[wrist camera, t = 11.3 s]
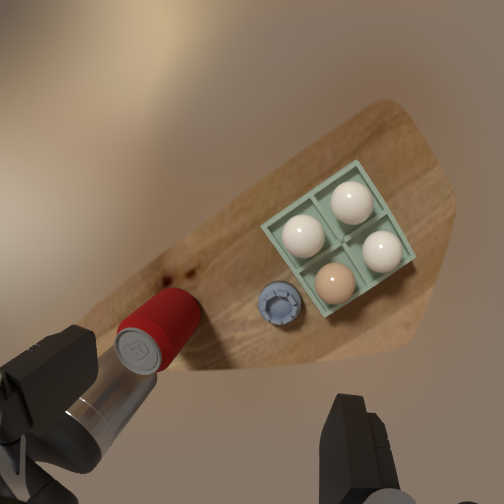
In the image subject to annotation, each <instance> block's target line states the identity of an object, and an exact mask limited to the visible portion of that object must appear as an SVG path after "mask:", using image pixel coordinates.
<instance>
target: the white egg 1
mask: <svg viewBox="0 0 504 504" xmlns="http://www.w3.org/2000/svg"><path fill="white" fill-rule="evenodd" d="M324 241H325V232H324V228H323V226H322V224H321V223H320V222H319V221H318V220H317V219H316V218H314V217H312V216H310V215H305V214H301V215H296V216H294V217H292V218H291V219H289V220H288V221H287V222H286V224H285V225H284V227H283V230H282V242H283V245H284V247H285V249H286V250H287V251H288V252H289V253H290V254H292V255H293V256H295V257H299V258H308V257H311V256H313V255H315V254H317V253H318V252H319V251H320V250H321V248H322V246H323V244H324Z"/></svg>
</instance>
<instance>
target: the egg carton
mask: <svg viewBox="0 0 504 504" xmlns="http://www.w3.org/2000/svg"><path fill="white" fill-rule="evenodd" d="M347 181H356V182H359V183H361V184H363V185H364V186H366V187H367V188H368V189H369V191H370V193H371V195H372V197H373V210H372V213H371V214H370V216H369V217H368V218H367V219H366V220H365V221H364V222H362V223H360V224H357V225H348V224H345V223H343V222H341V221H339V220H338V219H337V218H336V217H335V215H334V214H333V212H332V209H331V205H330V200H331V195H332V193H333V191H334V190H335V188H336V187H337V186H339V185H340V184H342V183H344V182H347ZM301 214H305V215H310V216H312V217H314V218H316V219H317V220H318V221H319V222H320V223H321V224H322V226H323V228H324V232H325V241H324V244H323V246H322V248H321V250H320V251H319V252H318V253H317V254H315V255H313V256H311V257H308V258H299V257H295V256H293V255H292V254H290V253H289V252H288V251H287V250H286V249H285V247H284V245H283V242H282V230H283V227H284V225H285V224H286V222H287V221H288V220H289V219H291V218H292V217H294V216H296V215H301ZM260 227H261V228H262V229H263V231H264V232H265V234H266V235H267V236H268V238H269V239H270V241H271V242H272V244H273V245H274V246H275V248H276V249H277V251H278V252H279V253H280V255H281V256H282V258H283V259H284V261H285V262H286V263H287V265H288V266H289V268H290V269H291V270H292V272H293V273H294V275H295V276H296V278H297V279H298V280H299V282H300V283H301V285H302V286H303V288H304V289H305V291H306V292H307V293H308V295H309V296H310V298H311V299H312V301H313V302H314V304H315V305H316V306H317V308H318V309H319V311H320V312H321V314H322V315H323V317H324V318H325V317H327V316H328V315H330V314H332V313H333V312H335V311H336V310H338V309H340V308H341V307H343V306H344V305H346V304H348V303H349V302H351V301H352V300H354V299H355V298H357V297H359V296H360V295H362V294H363V293H365V292H366V291H368V290H369V289H371V288H372V287H374V286H375V285H377V284H378V283H380V282H381V281H383V280H384V279H386V278H387V277H389V276H390V275H392V274H393V273H394V272H396V271H397V270H399V269H400V268H402V267H403V266H404V265H406V264H407V263H409V262H410V261H411V260H413V259H414V258H416V255H415V253H414V252H413V250H412V248H411V246H410V244H409V242H408V241H407V239H406V237H405V235H404V233H403V232H402V230H401V228H400V226H399V225H398V223H397V221H396V220H395V218H394V216H393V214H392V213H391V211H390V209H389V208H388V206H387V205H386V203H385V201H384V200H383V198H382V196H381V195H380V193H379V192H378V190H377V189H376V187H375V185H374V184H373V182H372V181H371V179H370V178H369V176H368V175H367V173H366V172H365V170H364V169H363V167H362V166H361V164H360V163H359V161H358V160H355V161H353V162H351V163H350V164H348V165H347V166H345V167H344V168H342V169H341V170H339V171H338V172H337V173H335V174H334V175H332V176H331V177H329V178H328V179H326V180H325V181H323V182H322V183H321V184H319V185H318V186H316V187H315V188H313V189H312V190H310V191H309V192H308V193H306V194H305V195H303V196H302V197H300V198H299V199H297V200H296V201H295V202H293V203H292V204H290V205H289V206H287V207H286V208H285V209H283V210H282V211H280V212H279V213H277V214H276V215H275V216H273V217H272V218H270V219H269V220H267V221H266V222H265V223H263V224H262V225H261V226H260ZM381 230H384V231H389V232H391V233H393V234H394V235H395V236H397V238H398V239H399V240H400V242H401V245H402V249H403V255H402V259H401V261H400V263H399V265H398V266H397V267H396V268H395V269H394V270H392V271H390V272H387V273H378V272H375V271H373V270H371V269H370V268H369V267H368V266H367V265H366V264H365V262H364V260H363V257H362V247H363V243H364V241H365V240H366V238H367V237H368V236H369V235H370V234H372V233H373V232H376V231H381ZM334 262H337V263H342V264H344V265H346V266H347V267H349V268H350V269H351V271H352V272H353V274H354V276H355V280H356V286H355V290H354V293H353V294H352V296H351V297H350V298H349V299H348V300H347V301H346V302H344V303H341V304H336V305H333V304H328V303H326V302H324V301H323V300H321V299H320V298H319V296H318V295H317V293H316V291H315V287H314V281H315V277H316V274H317V273H318V271H319V270H320V269H321V268H322V267H323V266H325V265H326V264H329V263H334Z"/></svg>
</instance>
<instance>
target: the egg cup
mask: <svg viewBox="0 0 504 504" xmlns="http://www.w3.org/2000/svg"><path fill="white" fill-rule="evenodd" d="M258 308H259V312H260V314H261V315H262V317H263V318H264V319H265V320H267V321H268V322H270V323H273V324H278V325H282V324H287V323H289V322H291V321H293V320H294V319H295V318H296V317H297V316H298V314H299V312H300V309H301V296H300V293H299V291H298V290H297V288H296V287H295V286H294V285H292V284H291V283H289V282H286V281H274V282H271V283H269V284H268V285H267V286H265V287H264V289H263V290H262V292H261V294H260V297H259V300H258Z"/></svg>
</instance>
